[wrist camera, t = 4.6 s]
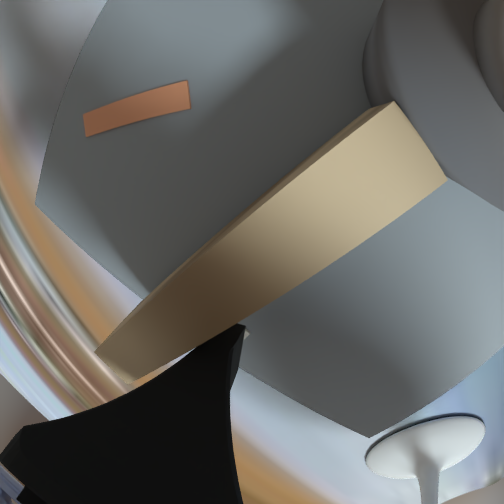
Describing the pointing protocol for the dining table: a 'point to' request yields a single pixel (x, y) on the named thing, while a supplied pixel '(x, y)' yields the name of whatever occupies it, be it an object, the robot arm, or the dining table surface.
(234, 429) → the dining table surface
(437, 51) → the curved bar with hub
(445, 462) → the wineglass
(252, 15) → the grey flat slab
